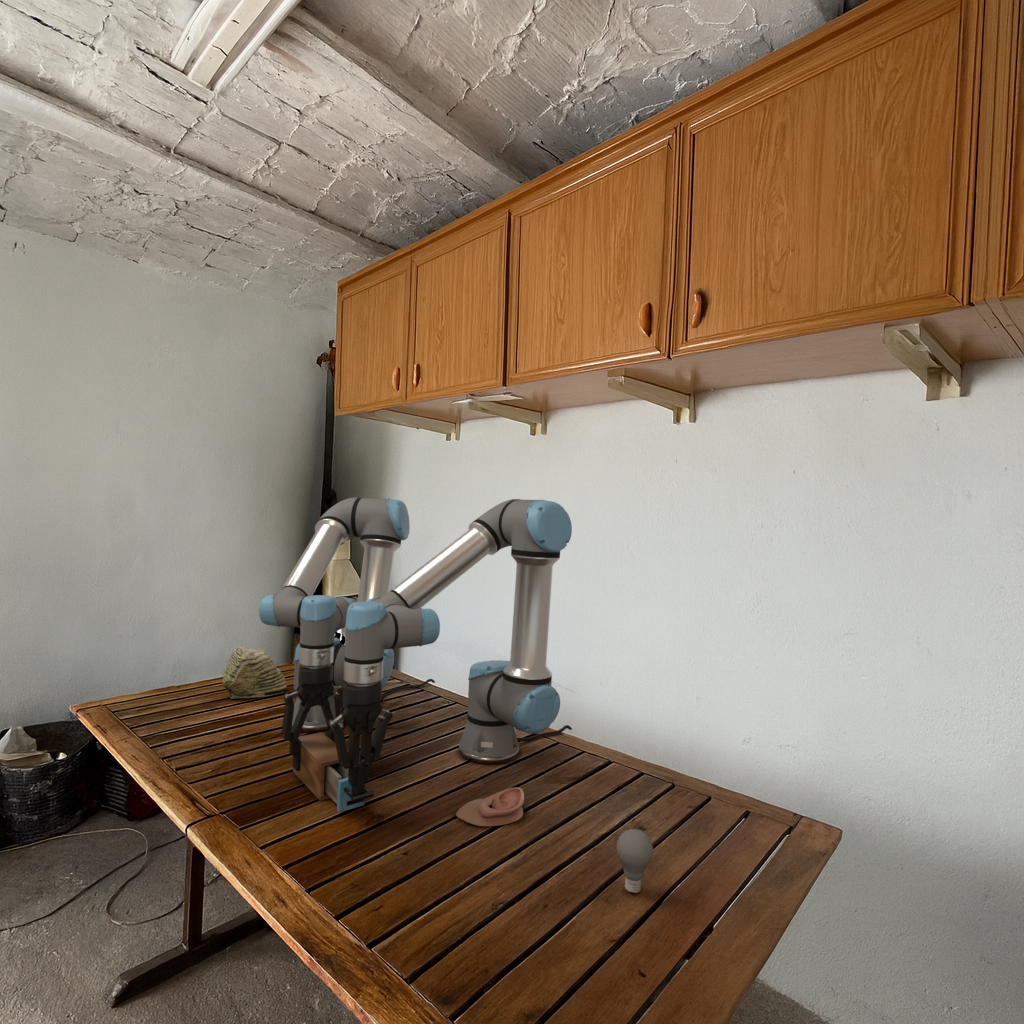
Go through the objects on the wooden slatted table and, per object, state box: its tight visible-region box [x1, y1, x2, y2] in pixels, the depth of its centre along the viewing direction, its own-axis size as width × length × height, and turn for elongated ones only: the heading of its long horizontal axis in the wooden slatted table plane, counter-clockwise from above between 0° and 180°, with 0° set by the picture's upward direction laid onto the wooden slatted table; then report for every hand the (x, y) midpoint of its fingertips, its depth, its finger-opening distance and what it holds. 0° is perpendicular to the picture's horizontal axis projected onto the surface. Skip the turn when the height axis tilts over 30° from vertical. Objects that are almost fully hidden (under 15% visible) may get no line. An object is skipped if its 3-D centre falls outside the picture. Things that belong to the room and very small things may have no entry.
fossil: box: [222, 646, 288, 699], centre depth 198 cm, size 9×18×15 cm, turn 132°
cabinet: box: [292, 731, 339, 801], centre depth 140 cm, size 16×7×8 cm, turn 38°
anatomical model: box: [455, 786, 525, 827], centre depth 129 cm, size 13×4×12 cm
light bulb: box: [615, 828, 654, 894], centre depth 106 cm, size 6×6×10 cm
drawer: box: [324, 763, 375, 813], centre depth 131 cm, size 21×5×6 cm, turn 38°
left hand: (312, 764), depth 144 cm, fingers closed on cabinet, 7 cm apart
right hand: (357, 799), depth 125 cm, fingers closed
